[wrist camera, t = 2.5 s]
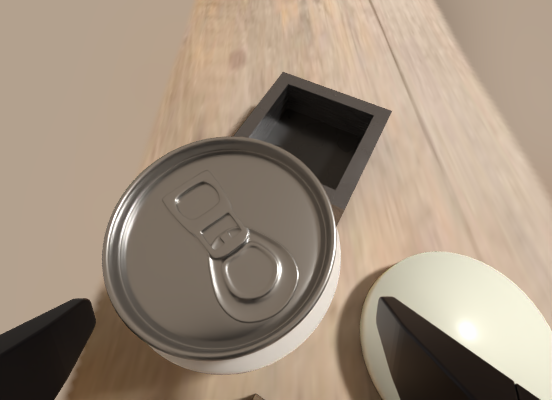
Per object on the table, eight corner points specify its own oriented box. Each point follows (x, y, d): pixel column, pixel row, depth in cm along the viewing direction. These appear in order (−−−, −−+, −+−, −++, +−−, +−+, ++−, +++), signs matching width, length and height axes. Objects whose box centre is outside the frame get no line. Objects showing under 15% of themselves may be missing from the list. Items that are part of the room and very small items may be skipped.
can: (247, 380, 15) (167, 482, 5) (187, 287, 18) (42, 210, 7) (330, 303, 17) (414, 245, 6) (266, 227, 19) (248, 91, 9)
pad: (529, 505, 13) (557, 524, 12) (333, 382, 15) (337, 387, 14) (550, 306, 17) (573, 303, 15) (390, 232, 19) (399, 224, 18)
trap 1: (335, 227, 19) (344, 210, 17) (228, 175, 21) (220, 152, 19) (378, 137, 23) (391, 111, 20) (282, 100, 25) (283, 72, 22)
